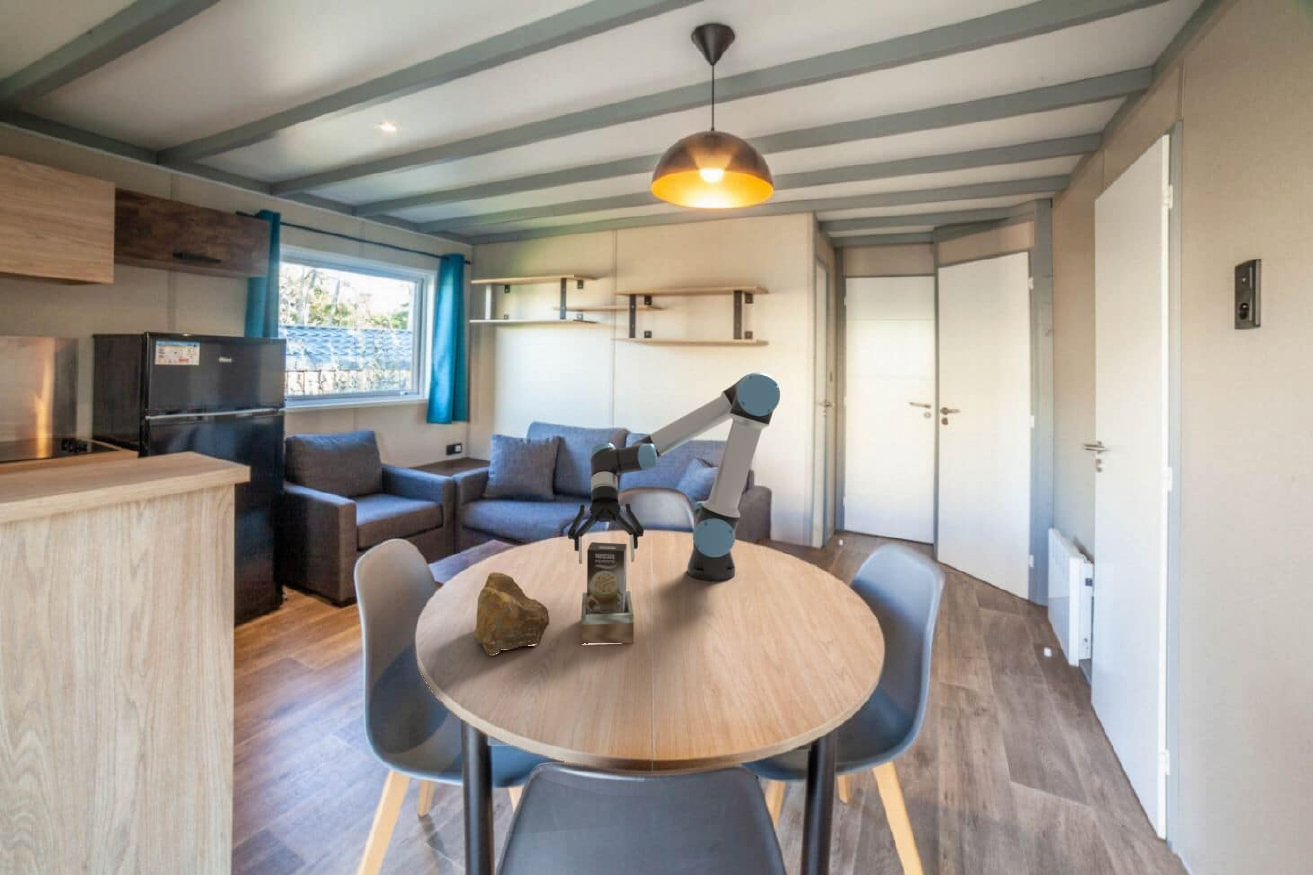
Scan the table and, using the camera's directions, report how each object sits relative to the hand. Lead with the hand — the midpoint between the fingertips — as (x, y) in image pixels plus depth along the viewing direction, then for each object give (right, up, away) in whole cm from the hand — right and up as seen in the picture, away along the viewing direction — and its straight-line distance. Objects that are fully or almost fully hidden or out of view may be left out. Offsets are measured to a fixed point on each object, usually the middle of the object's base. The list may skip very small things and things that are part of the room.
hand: (606, 560), depth 149 cm
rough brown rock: (-21, -16, -16) cm, 30 cm away
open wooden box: (+1, -15, -9) cm, 18 cm away
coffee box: (+1, -10, -10) cm, 14 cm away
